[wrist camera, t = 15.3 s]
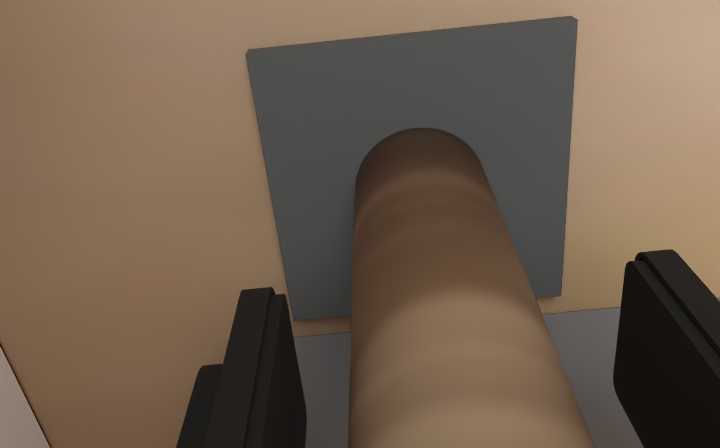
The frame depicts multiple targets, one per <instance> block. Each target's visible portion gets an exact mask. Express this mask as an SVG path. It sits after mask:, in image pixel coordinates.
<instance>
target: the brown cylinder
mask: <svg viewBox="0 0 720 448" xmlns="http://www.w3.org/2000/svg"><path fill="white" fill-rule="evenodd" d="M348 448H596V447H595V445H594V442H593V440H592V437H591V435H590V432H589V430H588V428H587V425H586V423H585V420H584V418H583V415H582V413H581V410H580V408H579V405H578V403H577V400H576V398H575V395H574V393H573V390H572V388H571V385H570V383H569V380H568V378H567V375H566V373H565V370H564V368H563V365H562V363H561V361H560V358H559V356H558V353H557V351H556V348H555V346H554V343H553V341H552V338H551V336H550V333H549V331H548V328H547V326H546V323H545V321H544V318H543V316H542V313H541V311H540V308H539V306H538V303H537V301H536V298H535V296H534V294H533V291H532V289H531V286H530V284H529V281H528V279H527V276H526V274H525V271H524V269H523V266H522V264H521V261H520V259H519V256H518V254H517V251H516V249H515V246H514V244H513V241H512V239H511V236H510V234H509V231H508V229H507V227H506V224H505V222H504V219H503V217H502V214H501V212H500V209H499V207H498V204H497V202H496V199H495V197H494V194H493V192H492V189H491V187H490V184H489V182H488V179H487V177H486V174H485V172H484V169H483V167H482V164H481V162H480V160H479V158H478V157H477V155H476V153H475V152H474V151H473V150H472V148H471V147H470V146H469V145H468V144H467V143H466V142H464V141H463V140H461V139H460V138H459V137H457V136H455V135H453V134H451V133H449V132H446V131H443V130H439V129H435V128H412V129H406V130H403V131H399V132H397V133H394V134H392V135H390V136H388V137H386V138H385V139H383V140H382V141H380V142H379V143H378V144H376V145H375V146H374V147H373V148H372V149H371V150H370V151H369V153H368V154H367V155H366V156H365V158H364V160H363V161H362V163H361V165H360V167H359V170H358V172H357V176H356V182H355V202H354V239H353V275H352V312H351V348H350V385H349V421H348Z"/></svg>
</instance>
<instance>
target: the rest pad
mask: <svg viewBox="0 0 720 448" xmlns="http://www.w3.org/2000/svg"><path fill="white" fill-rule="evenodd" d="M577 23H578V20H577V19H575V18H574V17H572V16H567V17H557V18H548V19H538V20H528V21H519V22H509V23H499V24H490V25H480V26H471V27H461V28H451V29H442V30H432V31H423V32H413V33H403V34H394V35H384V36H375V37H365V38H355V39H346V40H336V41H326V42H317V43H307V44H298V45H288V46H278V47H269V48H259V49H250V50H248V51H247V53H246V59H247V65H248V70H249V76H250V81H251V87H252V92H253V98H254V103H255V109H256V115H257V120H258V126H259V131H260V137H261V142H262V148H263V153H264V159H265V165H266V170H267V176H268V181H269V187H270V192H271V198H272V203H273V209H274V214H275V220H276V226H277V231H278V237H279V242H280V248H281V253H282V259H283V264H284V270H285V276H286V281H287V287H288V292H289V298H290V303H291V309H292V314H293V320H294V321H298V320H309V319H320V318H331V317H341V316H351V312H352V275H353V239H354V202H355V182H356V176H357V172H358V170H359V167H360V165H361V163H362V161H363V160H364V158H365V156H366V155H367V154H368V153H369V151H370V150H371V149H372V148H373V147H374V146H375V145H376V144H378V143H379V142H380V141H382V140H383V139H385V138H386V137H388V136H390V135H392V134H394V133H397V132H399V131H403V130H406V129H412V128H435V129H439V130H443V131H446V132H449V133H451V134H453V135H455V136H457V137H459V138H460V139H461V140H463V141H464V142H466V143H467V144H468V145H469V146H470V147H471V148H472V150H473V151H474V152H475V153H476V155H477V157H478V158H479V160H480V162H481V164H482V167H483V169H484V172H485V174H486V177H487V179H488V182H489V184H490V187H491V189H492V192H493V194H494V197H495V199H496V202H497V204H498V207H499V209H500V212H501V214H502V217H503V219H504V222H505V224H506V227H507V229H508V231H509V234H510V236H511V239H512V241H513V244H514V246H515V249H516V251H517V254H518V256H519V259H520V261H521V264H522V266H523V269H524V271H525V274H526V276H527V279H528V281H529V284H530V286H531V289H532V291H533V294H534V296H535V298H546V297H556V296H561V290H562V273H563V257H564V240H565V223H566V207H567V190H568V173H569V157H570V140H571V123H572V107H573V90H574V73H575V56H576V40H577Z"/></svg>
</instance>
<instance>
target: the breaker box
mask: <svg viewBox="0 0 720 448" xmlns="http://www.w3.org/2000/svg"><path fill="white" fill-rule="evenodd" d="M717 299H718V300H719V301H720V298H717ZM620 310H621V307H618V308H607V309H597V310H586V311H575V312H564V313H553V314H542V316H543V318H544V321H545V323H546V326H547V328H548V331H549V333H550V336H551V338H552V341H553V343H554V346H555V348H556V351H557V353H558V356H559V358H560V361H561V363H562V365H563V368H564V370H565V373H566V375H567V378H568V380H569V383H570V385H571V388H572V390H573V393H574V395H575V398H576V400H577V403H578V405H579V408H580V410H581V413H582V415H583V418H584V420H585V423H586V425H587V428H588V430H589V432H590V435H591V437H592V440H593V442H594V445H595V447H596V448H644V447H643V445H642V443H641V441H640V439H639V438H638V436H637V434H636V432H635V430H634V428H633V426H632V424H631V422H630V420H629V418H628V417H627V415H626V413H625V411H624V409H623V407H622V405H621V403H620V401H619V399H618V397H617V395H616V393H615V389H614V384H613V371H614V362H615V354H616V345H617V336H618V327H619V318H620ZM294 343H295V349H296V354H297V360H298V365H299V371H300V376H301V382H302V387H303V393H304V398H305V404H306V414H307V427H306V442H305V448H348V421H349V385H350V348H351V332H348V333H337V334H326V335H315V336H304V337H294Z"/></svg>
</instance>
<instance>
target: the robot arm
mask: <svg viewBox="0 0 720 448" xmlns="http://www.w3.org/2000/svg"><path fill="white" fill-rule="evenodd" d="M613 384H614V389H615V393H616V395H617V397H618V399H619V401H620V403H621V405H622V407H623V409H624V411H625V413H626V415H627V417H628V418H629V420H630V422H631V424H632V426H633V428H634V430H635V432H636V434H637V436H638V438H639V439H640V441H641V443H642V445H643V447H644V448H720V301H719V300H718V299H717V298H716V297H715V296H714V294H713V293H712V292H711V291H710V290H709V289H708V288H707V287H706V285H705V284H704V283H703V282H702V281H701V280H700V279H699V277H698V276H697V275H696V274H695V273H694V272H693V271H692V270H691V268H690V267H689V266H688V265H687V264H686V263H685V262H684V260H683V259H682V258H681V257H680V256H679V255H678V254H677V253H676V252H675V251H674V250H659V251H648V252H640V253H638V254H637V256H636V257H635V261H629V262H628V263H627V264H626V267H625V275H624V283H623V292H622V301H621V310H620V318H619V327H618V336H617V345H616V354H615V362H614V371H613ZM306 427H307V414H306V404H305V398H304V393H303V387H302V382H301V376H300V371H299V365H298V360H297V354H296V349H295V343H294V338H293V333H292V327H291V322H290V316H289V311H288V305H287V300H286V296H285V294H278V295H275V292H274V289H273V288H272V287H268V288H257V289H247V290H242V291H241V293H240V297H239V301H238V305H237V309H236V313H235V317H234V321H233V326H232V330H231V334H230V338H229V342H228V346H227V350H226V354H225V358H224V362H223V364H216V365H205V366H202V367H201V368H200V370H199V372H198V375H197V378H196V381H195V385H194V388H193V392H192V395H191V399H190V402H189V405H188V409H187V412H186V416H185V419H184V423H183V426H182V429H181V433H180V436H179V440H178V443H177V447H176V448H305V442H306Z"/></svg>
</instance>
